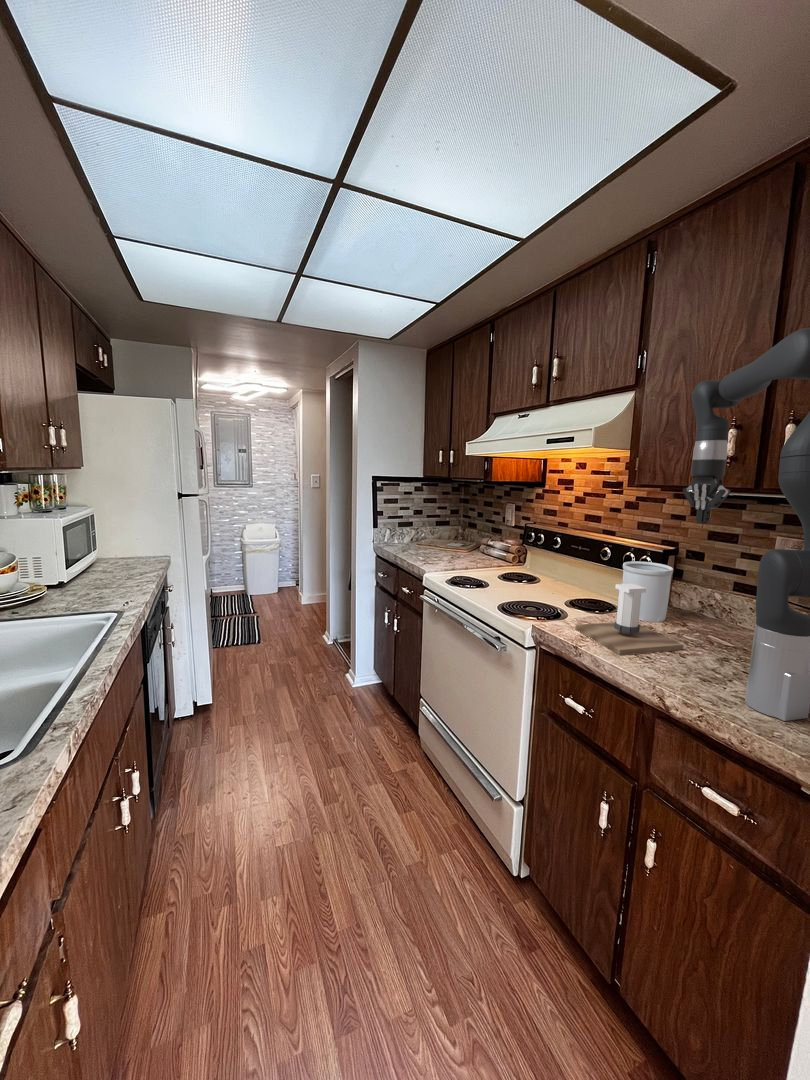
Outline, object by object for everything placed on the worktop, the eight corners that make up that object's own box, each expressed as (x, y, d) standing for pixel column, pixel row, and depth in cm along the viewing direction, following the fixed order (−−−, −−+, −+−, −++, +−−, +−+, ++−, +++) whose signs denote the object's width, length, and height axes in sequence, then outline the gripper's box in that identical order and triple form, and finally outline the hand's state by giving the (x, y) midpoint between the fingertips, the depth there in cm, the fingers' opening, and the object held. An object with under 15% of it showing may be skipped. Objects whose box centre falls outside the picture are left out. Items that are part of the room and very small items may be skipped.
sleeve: (642, 626, 127) (646, 588, 126) (625, 627, 126) (629, 589, 125) (628, 620, 133) (632, 583, 131) (612, 621, 132) (615, 584, 130)
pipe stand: (682, 649, 123) (688, 600, 121) (619, 655, 118) (623, 604, 116) (631, 625, 142) (635, 582, 140) (575, 629, 138) (578, 585, 136)
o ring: (644, 632, 127) (644, 626, 127) (624, 633, 126) (625, 628, 126) (628, 624, 134) (629, 619, 133) (609, 626, 132) (610, 620, 132)
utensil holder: (673, 625, 143) (679, 571, 141) (623, 620, 147) (627, 568, 144) (661, 611, 157) (666, 563, 155) (615, 607, 161) (619, 560, 159)
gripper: (744, 458, 113) (736, 526, 115) (699, 459, 126) (692, 520, 128) (720, 457, 111) (712, 526, 114) (677, 459, 124) (670, 521, 126)
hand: (702, 523), depth 121 cm, fingers closed
